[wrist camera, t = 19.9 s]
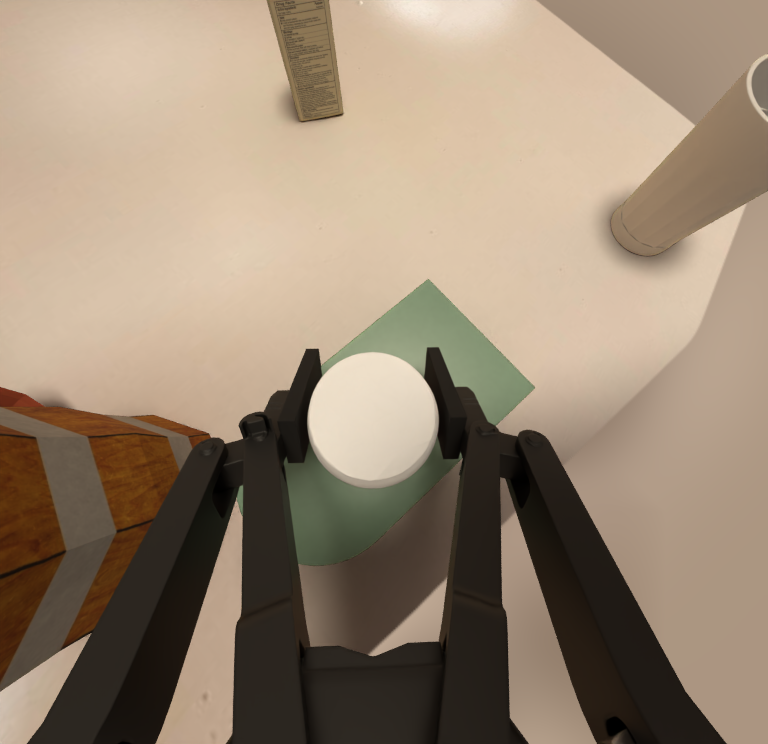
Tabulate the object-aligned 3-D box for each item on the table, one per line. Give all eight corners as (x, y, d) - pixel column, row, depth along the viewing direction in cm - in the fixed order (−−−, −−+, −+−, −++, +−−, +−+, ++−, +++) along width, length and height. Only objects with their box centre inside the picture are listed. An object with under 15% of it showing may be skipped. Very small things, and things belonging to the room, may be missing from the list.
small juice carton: (336, 85, 33) (319, -62, 23) (344, 115, 32) (329, -25, 22) (291, 92, 33) (254, -55, 23) (297, 122, 32) (261, -17, 22)
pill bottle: (359, 368, 22) (343, 304, 11) (431, 407, 22) (485, 380, 11) (316, 441, 21) (251, 448, 10) (391, 485, 20) (407, 542, 10)
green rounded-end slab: (421, 300, 28) (428, 278, 24) (511, 394, 26) (535, 387, 22) (229, 458, 24) (200, 463, 20) (318, 579, 23) (306, 609, 19)
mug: (265, 487, 24) (88, 571, 9) (134, 636, 21) (-386, 1068, 7) (110, 339, 26) (-227, 218, 12) (-23, 458, 24) (-661, 495, 9)
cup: (605, 188, 31) (745, 38, 19) (681, 205, 31) (868, 63, 19) (599, 253, 29) (748, 131, 18) (679, 271, 29) (883, 160, 17)
